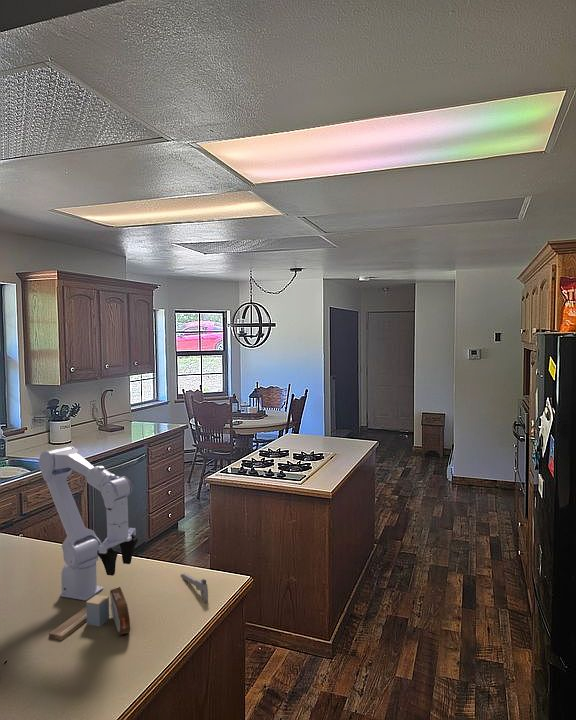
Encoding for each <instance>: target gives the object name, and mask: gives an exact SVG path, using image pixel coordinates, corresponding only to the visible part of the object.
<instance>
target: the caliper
mask: <svg viewBox="0 0 576 720" xmlns="http://www.w3.org/2000/svg"><path fill="white" fill-rule="evenodd" d="M180 577H181V578H182V579H183V580H184V581H186V582H188V583H189V584H191V585H193V586H194V587H195V589H196V590H197V591H200V597H201V600H202V601H203V602H204V603H207V602H208V601H209V589H208V584H207V580H206V579H205V578H203V579H199V578H198V579H196V578H194V577H193V576H191V575H190V574H187V573H186V572H183V573H181V574H180Z"/></svg>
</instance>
